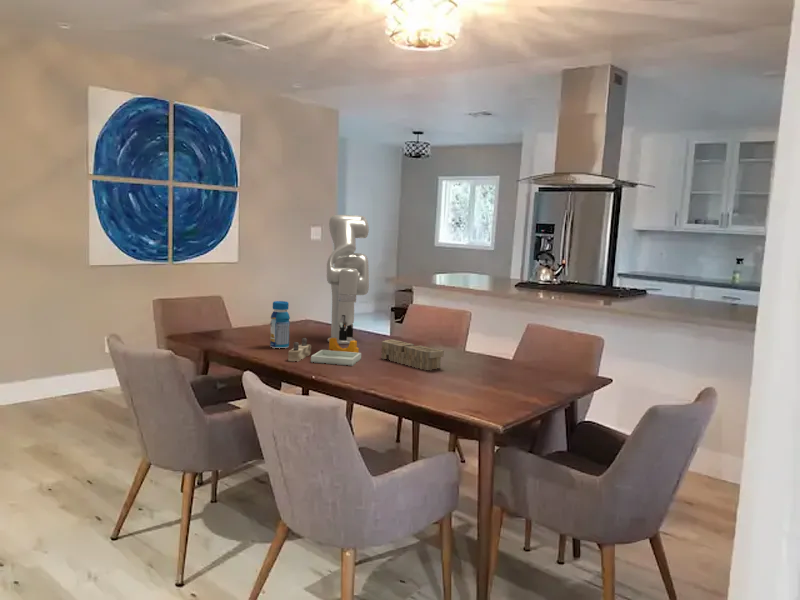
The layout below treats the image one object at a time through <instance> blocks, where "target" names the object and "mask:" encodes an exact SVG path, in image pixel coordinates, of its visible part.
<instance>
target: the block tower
mask: <svg viewBox="0 0 800 600" xmlns="http://www.w3.org/2000/svg"><path fill="white" fill-rule="evenodd" d="M380 351H381V355H380V356H381V357H380V359H381V358H382V359H381V360H384V359H389V360H390V361H389V360H388V361H389V362H391V361H394V362H393V363H395V362H397V363H396V364H399V363H401V364H400V365H402V364H405V365H404V366H406V365H408V366H407V367H410V366H412V367H411V368H414V367H415V368H414V369H418V368H420V369H419V370H422V369H424V370H423V371H426V370H430V371H433V370H432V369H436V370H438V369H437V368H440V369H441V363H442V362H441V361H442V360H441V358H444V353H445V350H442V349H438V348H434V347H429V346H424V345H415V344H414V343H409V342H405V341H401V340H397V339H392V338H390V339H384V340H383V341H382V340H381V349H380Z"/></svg>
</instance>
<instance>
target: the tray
mask: <svg viewBox="0 0 800 600" xmlns="http://www.w3.org/2000/svg"><path fill="white" fill-rule="evenodd" d="M360 360H362V352H359V353H356V352H344V351H332V350H329V349H320V350H319V351H317V352H316V353H313V354H312V355H311V356H310V363H313V362H314V363H315V364H324V363H326V364H325V365H335V364H337V365H338V366H346V365H348V366H349V367H353V366H354V365H355V364H357V363H358V362H359V361H360ZM356 362H357V363H356Z"/></svg>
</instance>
